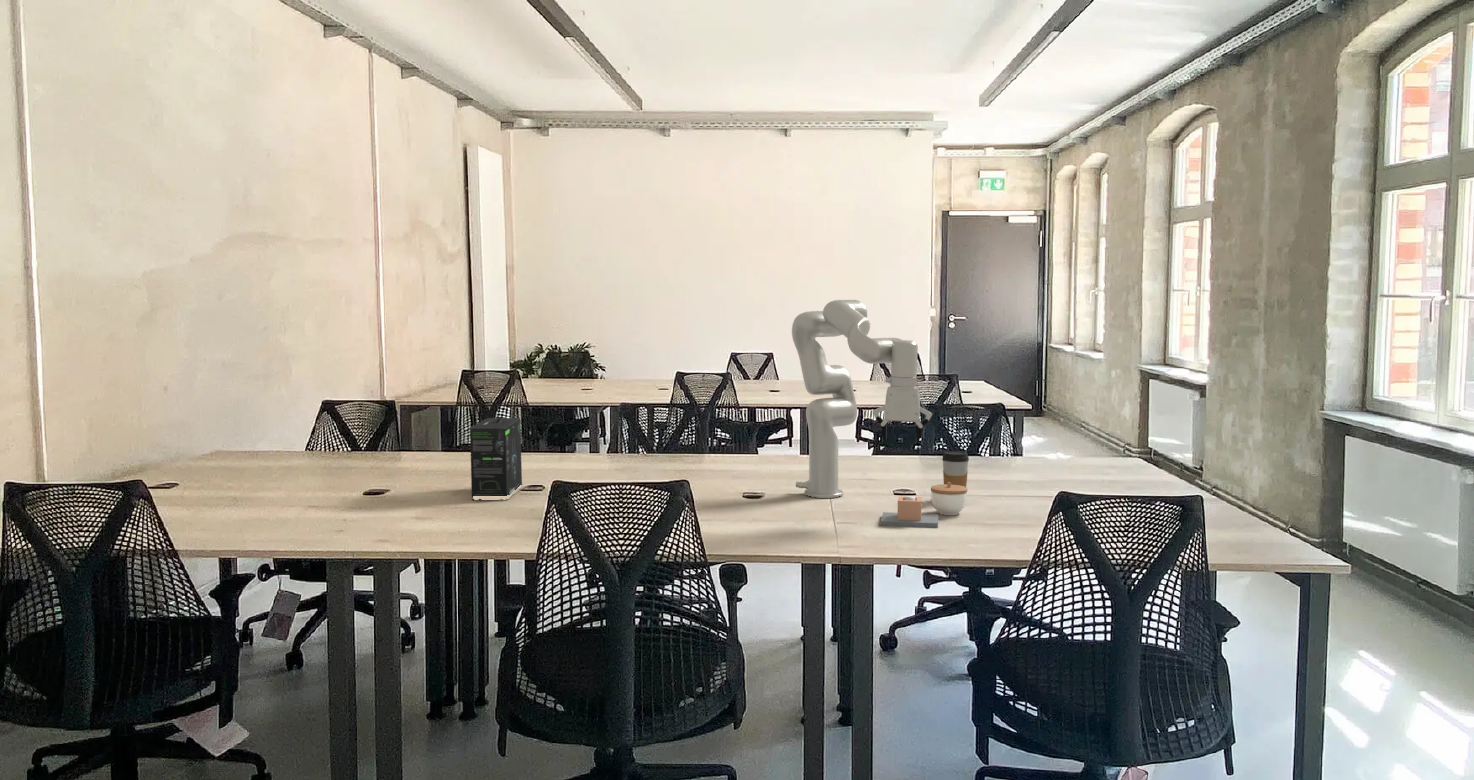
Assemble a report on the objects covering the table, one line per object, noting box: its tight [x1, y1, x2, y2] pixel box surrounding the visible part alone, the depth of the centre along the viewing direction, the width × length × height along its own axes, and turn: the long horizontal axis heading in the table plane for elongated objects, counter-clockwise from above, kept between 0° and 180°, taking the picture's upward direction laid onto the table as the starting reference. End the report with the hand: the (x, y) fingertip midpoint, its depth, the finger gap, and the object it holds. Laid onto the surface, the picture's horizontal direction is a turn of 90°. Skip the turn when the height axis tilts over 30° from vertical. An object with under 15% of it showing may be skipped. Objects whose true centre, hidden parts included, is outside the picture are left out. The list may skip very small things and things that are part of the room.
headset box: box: [469, 415, 523, 497], centre depth 347 cm, size 22×12×26 cm, turn 179°
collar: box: [897, 495, 923, 521], centre depth 304 cm, size 7×7×6 cm
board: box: [880, 495, 939, 528], centre depth 305 cm, size 16×12×7 cm
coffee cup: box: [941, 450, 970, 488], centre depth 336 cm, size 8×8×15 cm
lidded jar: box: [930, 482, 968, 516], centre depth 316 cm, size 11×11×9 cm
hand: (901, 439), depth 312 cm, fingers open, 9 cm apart
